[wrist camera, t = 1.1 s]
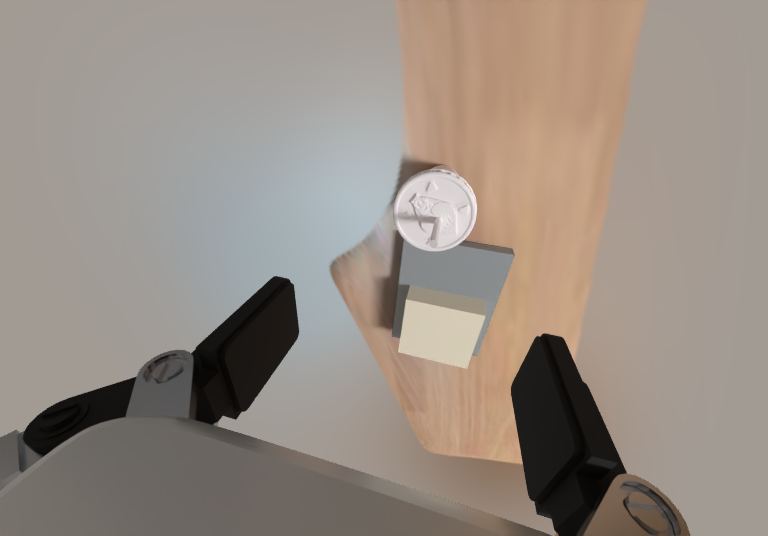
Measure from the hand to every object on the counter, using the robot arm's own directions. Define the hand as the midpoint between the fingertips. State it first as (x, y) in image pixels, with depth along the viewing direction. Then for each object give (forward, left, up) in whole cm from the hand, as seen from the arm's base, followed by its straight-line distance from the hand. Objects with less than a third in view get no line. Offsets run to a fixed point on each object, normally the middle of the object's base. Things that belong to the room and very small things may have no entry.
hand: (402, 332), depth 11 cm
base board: (+14, +3, -22) cm, 26 cm away
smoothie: (0, 0, -22) cm, 22 cm away
